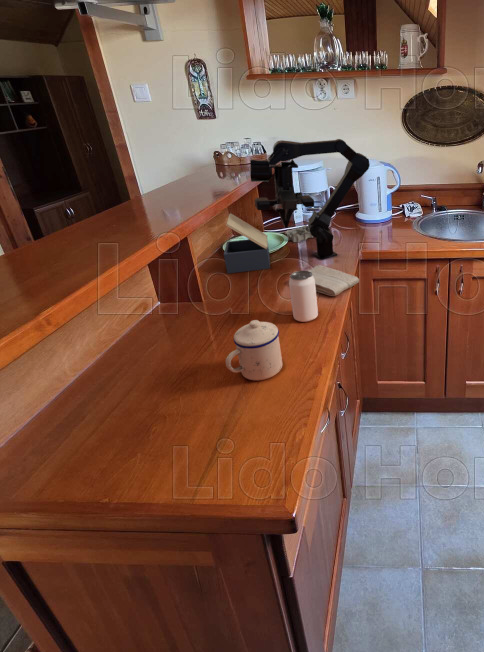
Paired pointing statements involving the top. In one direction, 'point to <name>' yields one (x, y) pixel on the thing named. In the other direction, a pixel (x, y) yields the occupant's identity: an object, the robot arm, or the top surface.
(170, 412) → the top surface
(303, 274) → the can
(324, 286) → the washcloth
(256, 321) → the teacup with lid
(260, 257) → the toy box
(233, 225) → the lid
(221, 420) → the top surface
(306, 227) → the egg carton
